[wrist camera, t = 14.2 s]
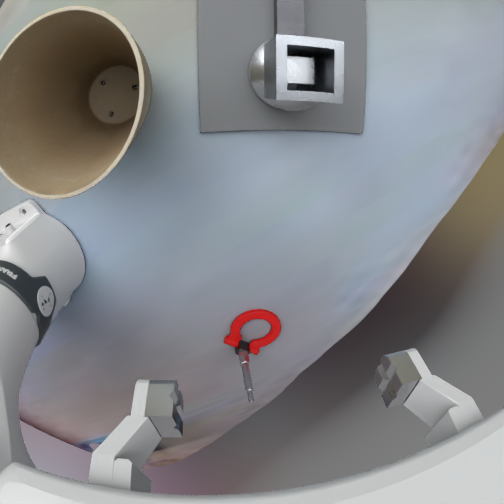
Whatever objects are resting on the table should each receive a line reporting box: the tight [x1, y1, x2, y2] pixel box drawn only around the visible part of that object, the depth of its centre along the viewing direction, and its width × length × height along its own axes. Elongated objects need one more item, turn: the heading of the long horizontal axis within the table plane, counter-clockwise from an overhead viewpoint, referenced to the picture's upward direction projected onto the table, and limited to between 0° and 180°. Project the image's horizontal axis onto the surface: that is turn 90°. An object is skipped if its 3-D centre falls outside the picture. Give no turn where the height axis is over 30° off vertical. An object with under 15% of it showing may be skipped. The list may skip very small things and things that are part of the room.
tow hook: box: [224, 309, 281, 404], centre depth 44 cm, size 8×13×9 cm
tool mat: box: [198, 0, 366, 134], centre depth 26 cm, size 20×26×1 cm
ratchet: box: [248, 0, 319, 111], centre depth 24 cm, size 22×9×6 cm, turn 1°
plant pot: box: [0, 6, 152, 199], centre depth 22 cm, size 15×15×16 cm
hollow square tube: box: [264, 34, 344, 104], centre depth 24 cm, size 6×6×7 cm
